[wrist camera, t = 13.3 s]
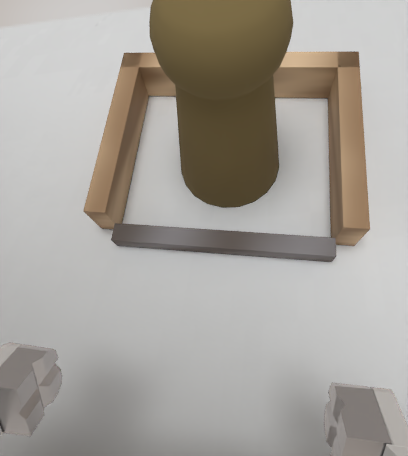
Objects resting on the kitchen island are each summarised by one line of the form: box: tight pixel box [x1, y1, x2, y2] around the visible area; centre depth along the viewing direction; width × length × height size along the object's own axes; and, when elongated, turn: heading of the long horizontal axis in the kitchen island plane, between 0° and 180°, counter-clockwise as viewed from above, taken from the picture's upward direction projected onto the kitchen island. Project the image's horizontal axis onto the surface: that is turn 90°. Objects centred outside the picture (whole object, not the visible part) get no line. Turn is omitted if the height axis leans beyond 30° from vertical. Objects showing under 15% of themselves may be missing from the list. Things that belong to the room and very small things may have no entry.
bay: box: [84, 52, 370, 262], centre depth 20 cm, size 14×12×2 cm
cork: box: [150, 0, 293, 207], centre depth 16 cm, size 6×6×11 cm
